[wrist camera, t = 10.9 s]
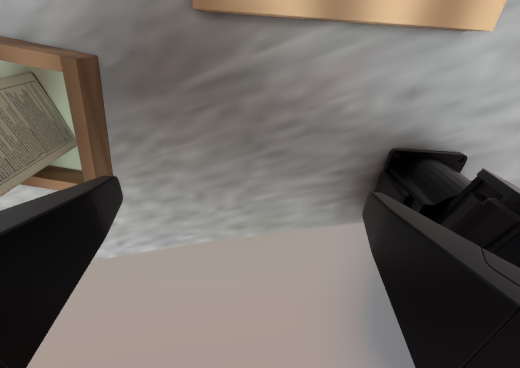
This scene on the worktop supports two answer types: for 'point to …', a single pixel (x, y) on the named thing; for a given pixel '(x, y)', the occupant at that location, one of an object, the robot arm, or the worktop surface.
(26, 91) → the skincare box
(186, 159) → the worktop surface
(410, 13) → the shallow wooden box
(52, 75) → the tray
